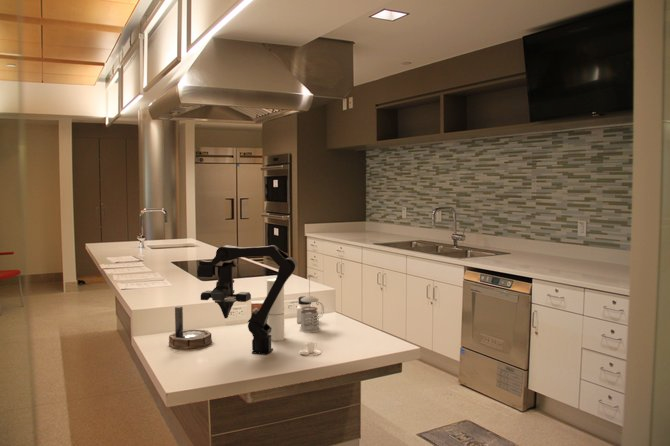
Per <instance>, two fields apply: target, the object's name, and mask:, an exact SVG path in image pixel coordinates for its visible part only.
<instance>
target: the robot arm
mask: <svg viewBox="0 0 670 446" xmlns="http://www.w3.org/2000/svg"><path fill="white" fill-rule="evenodd" d="M259 257H270V258H271V259H272V260H273V262H274V263H275V264H277V266H279V268H278V270H277V273H276V280H275V282H274V284H273V286H272V288H271V289H270V291H269V293H268V295H267V294H266V297H265V299H264V300H263V301H264V302H263V304H262V306H261V308H260V310H259V311H258V310H255V311H254V312H253V313H252V315H251V314H250V318H249V319H248V321H247V323H248V324H247V328H248V331H249V332H250V333H251V335H252V337H253V338H252V340H251V343H252V344H251V348H252V351H251V354H259V355H268V354H270V353H271V352H272V351H273V350H274V348H273V347H272V341H271V335H269V334H270V332H271V329H272V328H271V327H270V326H269V325H268V324H267V320H268V316H269V312H270V310H271V308H272V306H273V304H274V303H275V301H276V299H277V297H278V295H279V293H280V291H281V290H282V288H283V286H284V287H285V284H286V282H287V281H288V280H289V278H290V277H291V276H292V275H293V273H294V272H295V271H296V270H297V268H298V261H297V260H296V258H294V257H291V256H289V255H288V254H287V253H285V252H284V251H283V250H281V249H280V248H279V247H278V246H276V245H275V244H271V245H263V246H245V247H243V246H242V247H241V246H235V245H229V244H226V245H223V246H220V247H218V248H217V249H216V251H215V256H214V257H213V258H212V260H202V259H201V260H199V262H198V266H197V271H196V272H197V278H199V279H214V278H215V276H217V281H216V283H215V287H214V288H213V289H212V290H205V291H203V292H201V293H200V300H201V301H208V300H210V299H212V301H214V303H215V304H216V303H217V305H218V306H219V309H220V311H221V313H222V316H223V317H224V319H228V317H229V315H230V313H231V310H232V308H233V305H234V303H236V302H238V303H239V302H240V303H246V302H248V301H250V300H252V295H251V293H250V292H249V291H240V292H238V293H235V289H234V283H235V279H234V268H236V267H239V264H238V263H237V262H236V261H235V260H237V259H239V258H240V259H241V258H259ZM222 262H223V263H222ZM220 263H221V264H220Z"/></svg>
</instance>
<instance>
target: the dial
mask: <svg viewBox="0 0 670 446" xmlns="http://www.w3.org/2000/svg"><path fill="white" fill-rule="evenodd" d="M183 309H184V308H183V306H175V307H174V324H175V325H174V326H175V327H174V329H175V330H174V331H175V332H174V333H175V336H174V337H175V338H176V339H195V338H201V337H204V336H205V335H206V333H205V332H201V331H188V332H183V331H184V312H183Z"/></svg>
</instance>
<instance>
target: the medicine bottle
mask: <svg viewBox="0 0 670 446" xmlns="http://www.w3.org/2000/svg"><path fill="white" fill-rule="evenodd" d="M306 296H307V295H301V296H299V297H298V299H297V300H298V305H297V307H296V324H301V311H304V310H302V308H303V307H309V302H302V301H301V299H302V298H303V297H306ZM310 307H314V306H313V305H312V302H310ZM305 314H313V313H310V312H307V313H305ZM308 319H312V318H308ZM305 320H307V319H305ZM308 322H311V321H308ZM305 323H306V322H305Z"/></svg>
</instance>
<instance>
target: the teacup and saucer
mask: <svg viewBox="0 0 670 446" xmlns="http://www.w3.org/2000/svg"><path fill="white" fill-rule="evenodd" d="M305 345H306V349H300V350H299V351H298V353H299V354H300V355H302V356H309V357H310V356H318V355H320V354H321V353H322V351H321V350H319V349H317V343H316V342H314V341H307V342H306V344H305ZM314 352H317V353H314Z"/></svg>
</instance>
